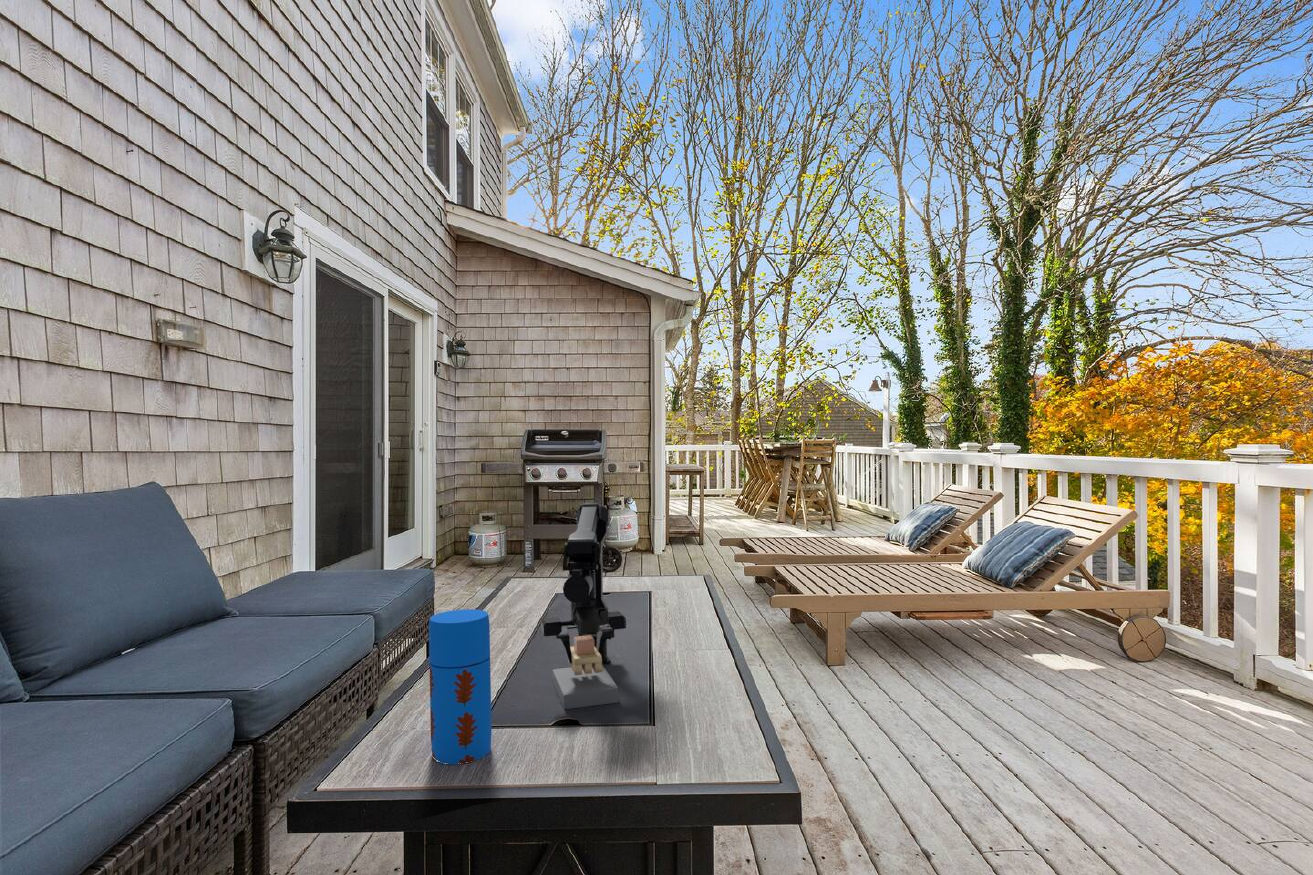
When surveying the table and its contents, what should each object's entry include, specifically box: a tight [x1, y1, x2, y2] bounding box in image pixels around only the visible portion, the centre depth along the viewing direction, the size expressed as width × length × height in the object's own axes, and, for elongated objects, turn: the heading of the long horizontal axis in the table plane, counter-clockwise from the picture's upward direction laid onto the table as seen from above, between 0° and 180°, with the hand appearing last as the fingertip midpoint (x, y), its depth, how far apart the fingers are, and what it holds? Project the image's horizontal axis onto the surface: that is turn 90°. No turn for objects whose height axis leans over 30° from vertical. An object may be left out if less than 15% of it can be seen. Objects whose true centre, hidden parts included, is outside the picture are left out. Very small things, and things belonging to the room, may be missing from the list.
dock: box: [552, 664, 620, 710], centre depth 155 cm, size 18×12×3 cm, turn 16°
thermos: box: [428, 608, 492, 765], centre depth 125 cm, size 11×11×25 cm
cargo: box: [573, 635, 595, 655], centre depth 154 cm, size 4×4×3 cm
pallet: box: [567, 645, 603, 675], centre depth 154 cm, size 10×6×4 cm, turn 16°
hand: (584, 661), depth 154 cm, fingers closed on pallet, 6 cm apart
